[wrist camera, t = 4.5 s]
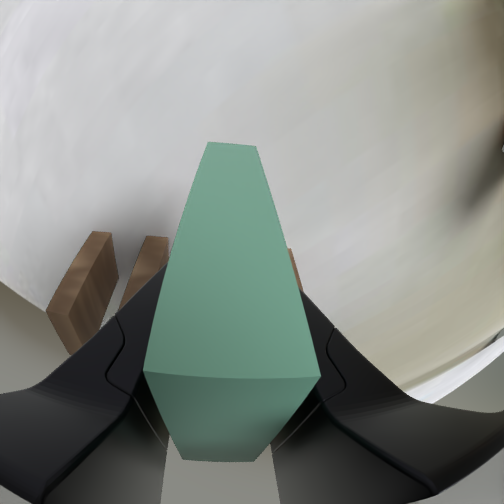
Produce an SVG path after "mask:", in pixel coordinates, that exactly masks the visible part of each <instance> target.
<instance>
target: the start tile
mask: <svg viewBox="0 0 504 504" xmlns="http://www.w3.org/2000/svg"><path fill="white" fill-rule="evenodd" d="M143 372H144V375H145V377H146V380H147V383H148V385H149V388H150V390H151V393H152V395H153V398H154V400H155V402H156V405H157V407H158V409H159V412H160V414H161V416H162V419H163V421H164V423H165V425H166V427H167V429H168V431H169V434H170V436H171V437H172V440H173V442H174V444H175V446H176V448H177V449H178V451H179V453H180V455H181V457H182V459H183V460H195V461H212V462H254V461H255V459H257V457H258V456H259V455H260V454H261V453H262V452H263V451H264V450H265V448H266V447H267V446H268V445H269V444H270V443H271V441H272V440H273V439H274V438H275V437H276V435H277V434H278V433H279V432H280V430H281V429H282V428H283V427H284V426H285V424H286V423H287V422H288V420H289V419H290V418H291V417H292V415H293V414H294V413H295V411H296V410H297V409H298V407H299V406H300V405H301V403H302V402H303V401H304V399H305V398H306V397H307V395H308V394H309V393H310V391H311V390H312V388H313V387H314V385H315V384H316V383H317V381H318V380H319V378H320V377H321V374H320V370H319V366H318V362H317V358H316V354H315V350H314V346H313V342H312V338H311V334H310V330H309V326H308V322H307V318H306V315H305V311H304V307H303V303H302V299H301V296H300V292H299V288H298V285H297V281H296V277H295V274H294V270H293V267H292V263H291V260H290V256H289V253H288V249H287V246H286V242H285V239H284V235H283V232H282V229H281V225H280V222H279V218H278V215H277V212H276V209H275V205H274V202H273V199H272V195H271V192H270V189H269V186H268V183H267V179H266V176H265V173H264V170H263V167H262V164H261V161H260V157H259V154H258V151H257V148H256V146H249V145H240V144H229V143H217V142H208V143H207V146H206V149H205V151H204V154H203V157H202V159H201V162H200V165H199V168H198V170H197V173H196V176H195V179H194V182H193V184H192V187H191V190H190V193H189V196H188V199H187V202H186V205H185V208H184V211H183V215H182V218H181V221H180V224H179V227H178V231H177V234H176V237H175V240H174V244H173V247H172V251H171V254H170V258H169V261H168V265H167V268H166V272H165V276H164V280H163V283H162V287H161V291H160V295H159V299H158V303H157V307H156V311H155V316H154V320H153V324H152V329H151V333H150V338H149V343H148V347H147V352H146V357H145V362H144V368H143Z"/></svg>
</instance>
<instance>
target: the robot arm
mask: <svg viewBox="0 0 504 504" xmlns="http://www.w3.org/2000/svg"><path fill="white" fill-rule="evenodd" d="M167 265H168V262H167V263H166V264H165V265H164V266H163V267H162V268H161V269H160V270H159V271H158V272H157V273H156V274H155V275H154V276H153V277H152V278H151V279H150V280H148V281H147V282H146V283H145V284H144V285H143V286H142V287H141V288H140V289H139V290H138V291H137V292H136V293H135V294H134V295H133V296H132V297H131V298H130V299H129V300H128V301H127V302H126V303H125V304H124V305H123V306H122V307H121V309H120V310H119V311H118V312H117V313H116V314H115V316H113V317H112V318H111V319H110V320H109V321H108V322H107V323H106V324H105V325H104V326H103V327H102V328H101V329H100V330H99V331H98V332H97V333H96V334H95V335H94V336H93V337H92V338H91V339H89V340H88V341H87V342H86V343H85V344H84V345H83V346H82V347H81V348H79V349H78V350H77V351H76V352H75V353H74V354H73V355H71V356H70V357H69V358H68V359H67V360H66V361H64V362H63V363H62V364H61V365H60V366H59V367H58V368H56V369H55V370H54V371H53V372H52V373H51V374H50V375H49V376H48V377H46V378H45V379H44V380H42V381H41V382H39V383H38V384H36V385H34V386H32V387H30V388H27V389H24V390H20V391H14V392H9V393H3V394H0V504H160V501H161V492H162V485H163V477H164V469H165V462H166V455H167V448H168V441H169V435H170V434H169V431H168V429H167V427H166V425H165V423H164V421H163V419H162V416H161V414H160V412H159V409H158V407H157V405H156V402H155V400H154V398H153V395H152V393H151V390H150V388H149V385H148V383H147V380H146V377H145V375H144V372H143V368H144V362H145V357H146V352H147V347H148V343H149V338H150V333H151V329H152V324H153V320H154V316H155V311H156V307H157V303H158V299H159V295H160V291H161V287H162V283H163V280H164V276H165V272H166V268H167ZM298 288H299V287H298ZM299 292H300V296H301V299H302V303H303V307H304V311H305V315H306V318H307V322H308V326H309V330H310V334H311V338H312V342H313V346H314V350H315V354H316V358H317V362H318V366H319V370H320V374H321V377H320V378H319V380H318V381H317V383H316V384H315V385H314V387H313V388H312V390H311V391H310V393H309V394H308V395H307V397H306V398H305V399H304V401H303V402H302V403H301V405H300V406H299V407H298V409H297V410H296V411H295V413H294V414H293V415H292V417H291V418H290V419H289V420H288V422H287V423H286V424H285V426H284V427H283V428H282V429H281V430H280V432H279V433H278V434H277V435H276V437H275V438H274V439H273V440H272V441H271V443H270V445H271V451H272V453H273V454H272V457H273V463H274V469H275V475H276V481H277V486H278V492H279V498H280V503H281V504H504V410H503V411H501V412H496V413H483V412H475V411H468V410H462V409H456V408H450V407H445V406H440V405H435V404H430V403H425V402H422V401H419V400H416V399H414V398H412V397H410V396H409V395H407V394H406V393H404V392H403V391H402V390H401V389H399V388H398V387H397V386H396V385H395V384H394V383H393V382H392V381H391V380H389V379H388V378H387V377H386V376H385V375H384V374H383V373H382V372H381V371H379V370H378V369H377V368H376V367H375V366H374V365H373V364H372V363H370V362H369V361H368V360H367V359H366V358H365V357H364V356H363V355H362V354H361V353H360V352H359V351H358V350H357V349H356V348H355V347H354V346H353V345H352V344H351V343H350V342H349V341H348V340H347V339H346V338H345V337H344V336H343V335H342V334H341V332H340V331H339V330H338V329H337V328H334V327H335V326H334V325H333V324H332V323H331V322H330V321H329V319H328V318H327V317H326V316H325V315H324V314H323V313H322V312H321V311H320V310H319V308H318V307H317V306H316V305H315V304H314V303H313V302H312V301H311V300H310V299H309V298H308V297H307V295H306V294H305V293H304V292H303V291H302V290H301V289H300V288H299Z"/></svg>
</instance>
